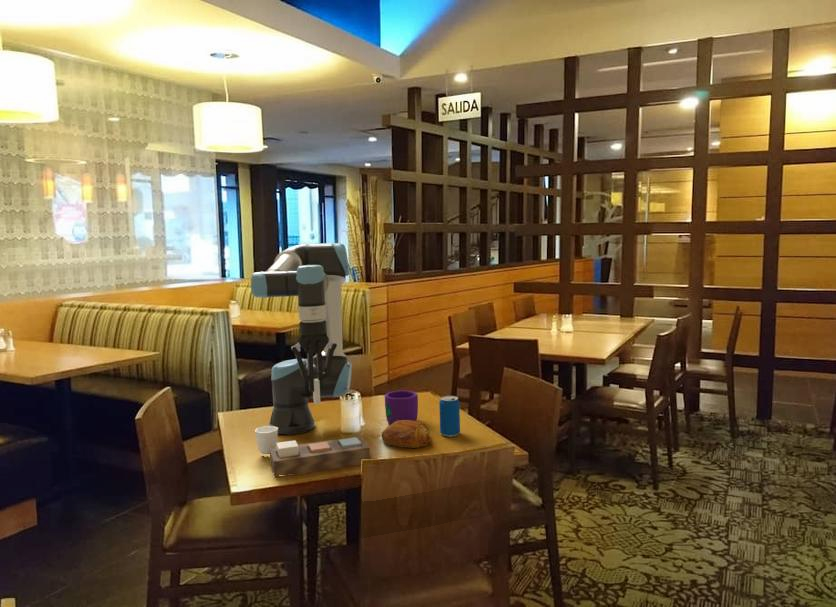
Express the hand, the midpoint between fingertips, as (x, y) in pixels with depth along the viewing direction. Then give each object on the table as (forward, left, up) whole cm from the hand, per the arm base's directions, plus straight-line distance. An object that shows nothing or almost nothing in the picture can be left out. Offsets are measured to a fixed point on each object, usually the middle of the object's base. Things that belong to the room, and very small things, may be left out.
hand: (317, 402), depth 181 cm
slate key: (+6, +6, -17) cm, 19 cm away
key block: (0, 0, -18) cm, 18 cm away
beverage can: (+25, +37, -18) cm, 48 cm away
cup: (-20, +1, -18) cm, 27 cm away
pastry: (+16, +26, -19) cm, 35 cm away
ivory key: (-6, -6, -16) cm, 18 cm away
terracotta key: (0, 0, -17) cm, 17 cm away
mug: (+2, +45, -18) cm, 49 cm away
